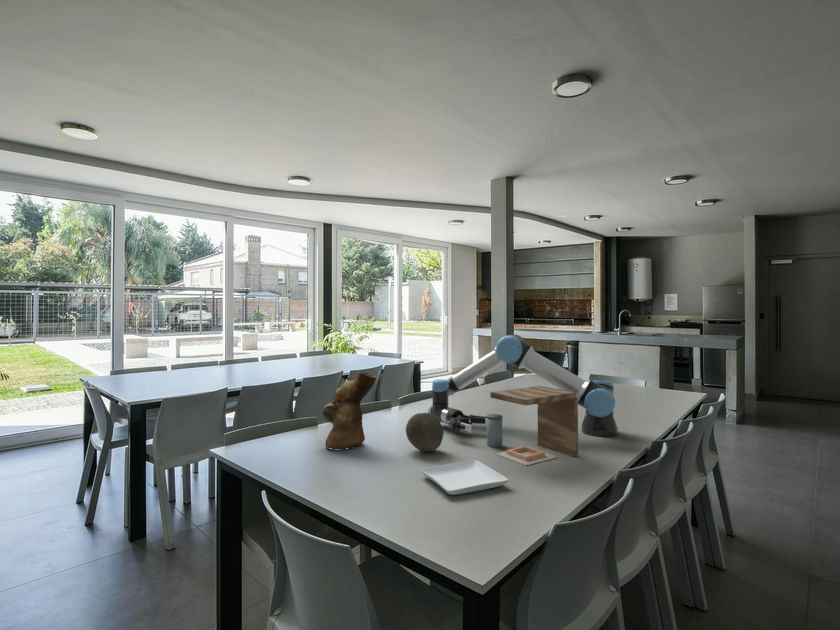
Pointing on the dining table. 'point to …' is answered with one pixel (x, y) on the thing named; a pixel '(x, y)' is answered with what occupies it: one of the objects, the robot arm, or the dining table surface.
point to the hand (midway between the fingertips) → (483, 426)
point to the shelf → (550, 415)
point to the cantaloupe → (424, 432)
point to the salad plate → (464, 477)
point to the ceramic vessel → (348, 412)
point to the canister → (494, 430)
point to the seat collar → (525, 455)
